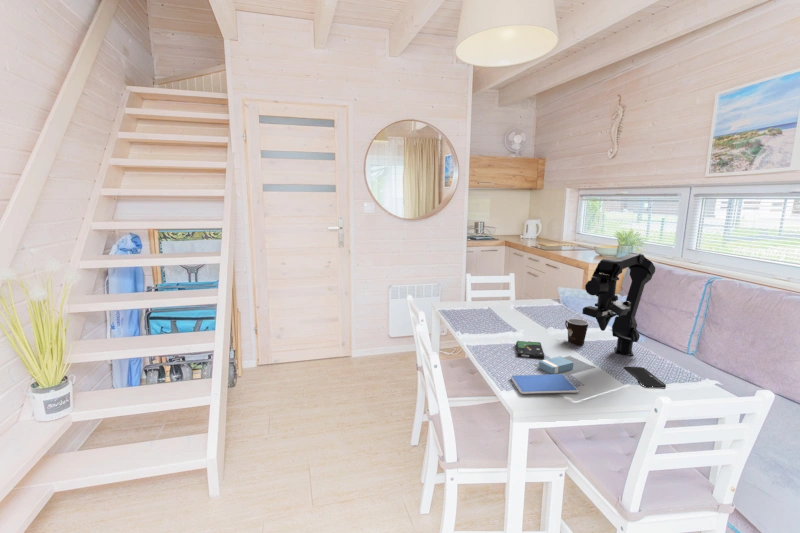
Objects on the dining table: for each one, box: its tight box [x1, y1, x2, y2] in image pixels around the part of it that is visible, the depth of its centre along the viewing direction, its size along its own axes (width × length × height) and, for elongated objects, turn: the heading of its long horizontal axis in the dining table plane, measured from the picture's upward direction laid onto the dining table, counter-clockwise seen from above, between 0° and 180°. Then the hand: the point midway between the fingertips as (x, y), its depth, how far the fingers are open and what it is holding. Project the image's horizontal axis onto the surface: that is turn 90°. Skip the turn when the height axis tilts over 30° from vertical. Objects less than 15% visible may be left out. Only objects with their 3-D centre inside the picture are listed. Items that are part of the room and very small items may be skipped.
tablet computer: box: [510, 373, 579, 395], centre depth 136 cm, size 19×13×1 cm, turn 91°
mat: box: [533, 355, 596, 377], centre depth 151 cm, size 20×12×1 cm, turn 116°
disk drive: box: [515, 340, 545, 360], centre depth 165 cm, size 10×3×15 cm
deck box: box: [538, 355, 574, 374], centre depth 149 cm, size 3×6×11 cm
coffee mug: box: [564, 318, 589, 347], centre depth 177 cm, size 12×9×10 cm
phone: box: [623, 366, 667, 388], centre depth 143 cm, size 8×1×15 cm
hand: (602, 330), depth 155 cm, fingers closed
